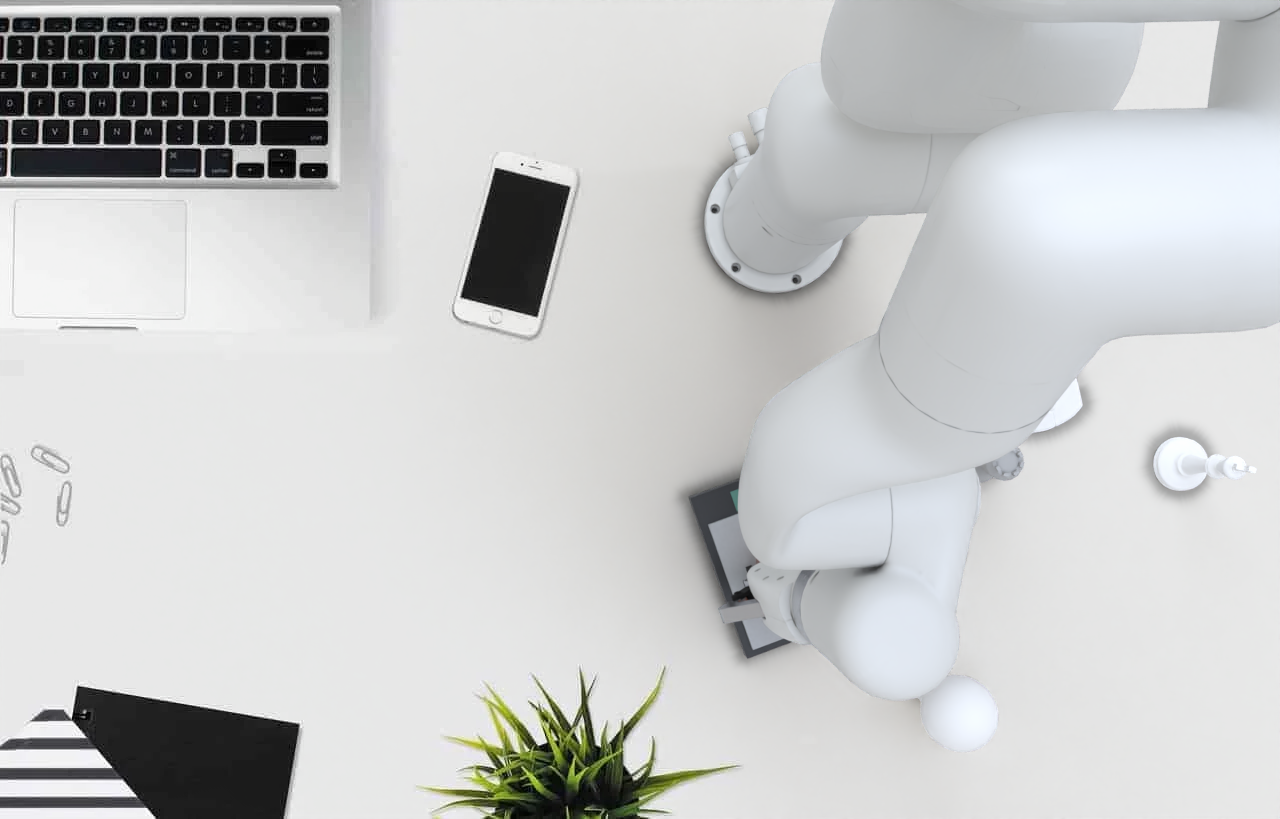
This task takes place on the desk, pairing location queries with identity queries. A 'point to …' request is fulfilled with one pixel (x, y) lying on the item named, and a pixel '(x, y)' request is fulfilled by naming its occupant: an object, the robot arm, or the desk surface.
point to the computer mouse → (1062, 408)
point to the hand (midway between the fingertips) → (794, 568)
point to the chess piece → (1193, 464)
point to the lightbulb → (959, 714)
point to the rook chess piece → (1002, 467)
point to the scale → (731, 559)
